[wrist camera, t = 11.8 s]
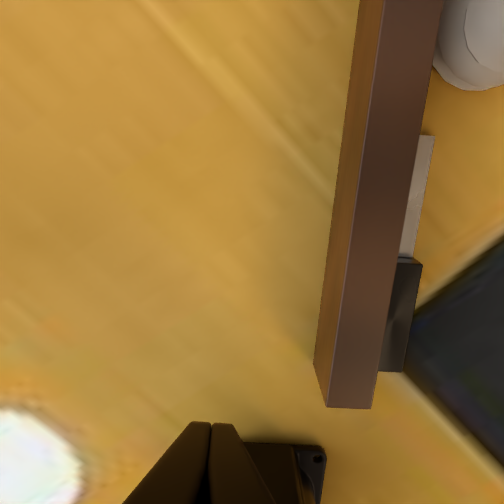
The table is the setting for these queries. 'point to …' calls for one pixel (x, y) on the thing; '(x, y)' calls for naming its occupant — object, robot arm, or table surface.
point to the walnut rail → (372, 192)
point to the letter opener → (406, 267)
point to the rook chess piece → (471, 44)
